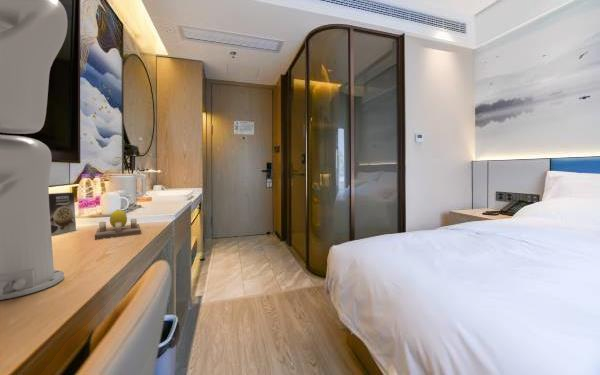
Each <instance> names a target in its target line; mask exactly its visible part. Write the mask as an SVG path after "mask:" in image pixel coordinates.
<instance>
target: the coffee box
mask: <svg viewBox="0 0 600 375" xmlns="http://www.w3.org/2000/svg"><path fill="white" fill-rule="evenodd" d="M75 208H76V207H75V193H74V192H55V193H54V192H53V193H49V210H50V224H51V237H52V236H56V235H57V236H58V235H62V234H66V233H70V232H75V231H77V224H76V221H77V220H76V210H75Z"/></svg>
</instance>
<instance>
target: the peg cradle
mask: <svg viewBox="0 0 600 375" xmlns="http://www.w3.org/2000/svg"><path fill="white" fill-rule="evenodd" d="M98 226H99V228H97V230H96V233H95V234H94V240H95V241H96V240H97V239H98V240H104V239H103V238H106V239H111V237H113V238H120V237H121V238H122V237H127V236H134V235H136V236H137V235H142V230H141V227H140V224H139V223H137V218H131V219H130V224H129V225H127V224H126V225H125V226H123V227H122V223H121V222H117V223H115V228H114V227H113V226H111V227H107V222H106V221H100V222H98Z"/></svg>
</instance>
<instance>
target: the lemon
mask: <svg viewBox="0 0 600 375" xmlns="http://www.w3.org/2000/svg"><path fill="white" fill-rule="evenodd" d="M117 222H121V223H122V227H123V226H126V225H127V223H128V217H127V214H126V213H125V212H124V211H123V210H121V209H115V211H113V212H112V213H110V216H109V224H110V225H111V227H114V228H115V223H117Z"/></svg>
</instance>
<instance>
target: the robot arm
mask: <svg viewBox="0 0 600 375" xmlns="http://www.w3.org/2000/svg"><path fill="white" fill-rule="evenodd" d="M67 31H68V14H67V11H66V9H65V7H64V5H63V4H62V2H61V1H60V0H0V133H2V134H0V301H1V300H8V299H13V298H18V297H22V296H26V295H30V294H33V293H37V292H39V291H42V290H45V289H48V288H51V287H52V286H54V285H57V284H58V283H60V282H61V281H63V279H64V278H65V273H64V271H63V270H58V269H55V265H54V253H53V252H54V251H53V242H52V241H53V240H52V236H51V224H50V210H49V194H50V193H49V192H50V191H49V190H50V189H49V186H50V176H51V175H50V174H51V168H52V159H53V158H52V151H51V150H50V148H49V146H48V145H47V144H45V143H43V142H42V141H40V140H38V139H35V138H31V137H27V136H21V134H22V135H23V134H24V135H26V134H35V133H38V132H40V131H41V130H42V128H43V127H44V125H45V121H46V116H47V107H48V97H49V96H48V93H49V84H50V82H49V80H50V73H51V72H50V71H51V67H52V65H53V63H54V61H55V59H56V58H57V56H58V54H59V52H60V50H61V48H62V46H63V44H64V42H65V40H66V37H67V33H68V32H67ZM6 134H7V135H6ZM8 134H20V135H8Z"/></svg>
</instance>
